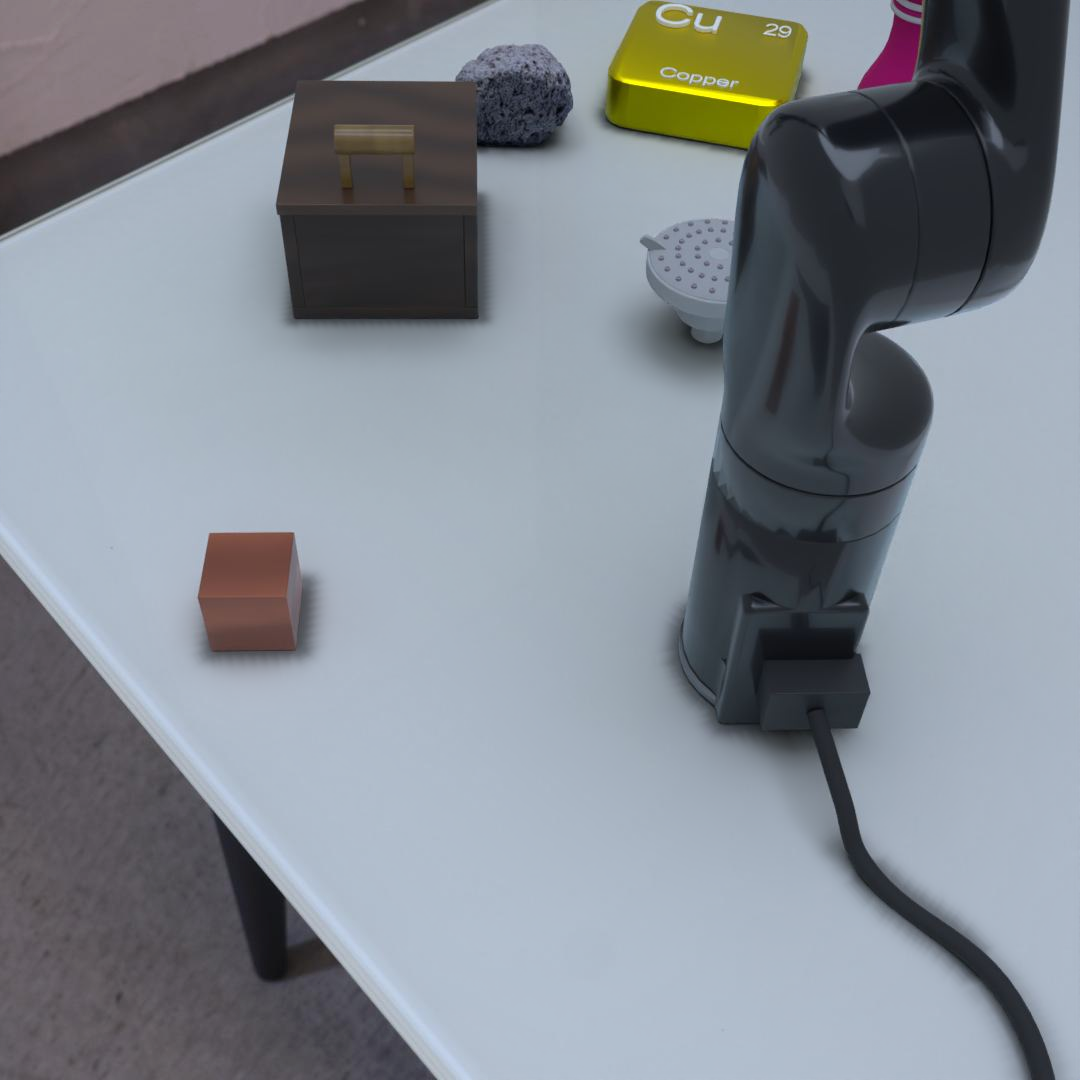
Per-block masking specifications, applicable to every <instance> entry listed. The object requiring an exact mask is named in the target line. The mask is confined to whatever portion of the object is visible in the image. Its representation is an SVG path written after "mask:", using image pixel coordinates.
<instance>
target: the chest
mask: <svg viewBox="0 0 1080 1080" xmlns="http://www.w3.org/2000/svg"><path fill="white" fill-rule="evenodd" d="M478 216H479V215H478V214H477V215H279V220H280V228H281V229H280V230H281V235H282V243H283V250H284V251H283V252H284V257H285V264H286V272H287V278H288V284H289V285H288V286H289V292H290V301H291V307H292V315H293V319H478V318H479V254H478V253H479V240H478V239H479V237H478V233H479V232H478V230H479V229H478V228H479V225H478V223H479V222H478Z"/></svg>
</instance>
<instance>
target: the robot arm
mask: <svg viewBox="0 0 1080 1080" xmlns="http://www.w3.org/2000/svg"><path fill="white" fill-rule="evenodd" d="M1070 10H1071V0H922V19H921V34H920V41H919V49H918V56H917V61H916V66H915V71H914V75H913V78H912V80H911V81H909V82H902V83H896V84H890V85H884V86H877V87H871V88H865V89H859V90H857V89H852V90H847V91H839V92H834V93H833V92H832V93H828V94H820V95H815V96H809V97H804V98H799V99H794V101H791V102H788V103H785V104H783V105H780V106H779V107H777V108H776V109H774V110H773V111H771V112H770V113H769V114H768V115H767V116H766V117H765V119H764V120H763V121H762V123H761V124H760V126H759V127H758V129H757V130H756V132H755V134H754V136H753V138H752V140H751V142H750V145H749V148H748V149H747V151H746V154H745V157H744V160H743V164H742V169H741V173H740V178H739V182H738V190H737V197H736V206H735V212H734V213H735V214H734V221H735V223H734V234H733V246H732V257H731V267H730V276H729V286H728V294H727V302H726V309H725V319H724V329H723V334H722V366H723V395H722V401H721V407H720V414H719V419H718V425H717V429H716V430H717V431H716V435H715V440H714V446H713V452H712V458H711V461H710V462H711V463H710V468H709V474H708V479H707V486H706V491H705V496H704V501H703V502H704V503H703V507H702V508H703V509H702V514H701V520H700V525H699V529H698V530H699V531H698V536H697V542H696V547H695V553H694V560H693V564H692V571H691V576H690V582H689V587H688V593H687V602H686V607H685V613H684V617H683V619H682V622H681V625H680V629H679V637H678V655H679V661H680V665H681V667H682V669H683V671H684V674H685V676H686V677H687V679H688V680H689V682H690V683H691V685H692V686H693V687H694V689H695V690H697V692H698V693H699V694H700V695H701V696H702V697H703V698H704V699H706V700H707V701H708V702H709V703H711V704H712V705H713V706H714V709H715V712H716V719H717V721H718V722H719V723H722V724H760V728H761V730H762V731H777V730H780V731H783V730H784V731H787V730H788V731H789V730H810V731H811V734H812V738H813V740H814V744H815V748H816V751H817V754H818V757H819V762H820V764H821V767H822V771H823V774H824V777H825V780H826V784H827V787H828V790H829V794H830V798H831V800H832V803H833V807H834V809H835V810H834V811H835V814H836V820H837V823H838V828H839V833H840V837H841V841H842V845H843V848H844V850H845V853H846V854H847V857H848V859H849V861H850V862H851V864H852V865H853V867H854V868H855V869H856V871H857V872H858V874H859V875H860V877H861V878H862V879H863V881H864V882H865V883H866V884H867V885H868V887H870V888H871V890H872V891H873V892H874V893H875V894H876V895H877V896H878V897H879V898H880V899H881V900H882V901H883V902H884V903H885V904H887V906H888V907H890V908H891V909H892V910H893V911H894V912H896V913H897V914H899V915H900V916H901V917H903V918H904V920H906V921H907V922H909V923H910V924H912V925H913V926H915V928H917V929H918V930H920V931H921V932H923V933H924V934H926V935H927V936H929V937H930V938H932V939H933V940H934V941H936V942H937V943H938V944H940V945H942V946H943V947H944V948H946V949H947V950H949V951H950V952H951V953H953V954H954V955H955V956H957V958H959V959H960V960H961V961H963V963H965V964H966V965H967V966H969V968H971V969H972V970H973V971H974V972H975V973H976V975H978V976H979V977H980V978H981V979H982V980H983V981H984V983H985V984H986V985H987V986H988V987H989V988H990V990H991V991H992V993H993V994H994V995H995V997H996V999H997V1000H998V1001H999V1003H1000V1004H1001V1006H1002V1007H1003V1009H1004V1011H1005V1012H1006V1014H1007V1017H1008V1018H1009V1019H1010V1021H1011V1023H1012V1025H1013V1028H1014V1030H1015V1032H1016V1034H1017V1036H1018V1039H1019V1041H1020V1044H1021V1046H1022V1048H1023V1051H1024V1054H1025V1056H1026V1060H1027V1063H1028V1067H1029V1070H1030V1074H1031V1078H1032V1080H1056V1075H1055V1072H1054V1069H1053V1065H1052V1060H1051V1058H1050V1055H1049V1052H1048V1049H1047V1045H1046V1043H1045V1041H1044V1038H1043V1036H1042V1034H1041V1032H1040V1031H1041V1030H1040V1029H1039V1026H1038V1025H1037V1023H1036V1021H1035V1019H1034V1016H1033V1014H1032V1012H1031V1010H1030V1009H1029V1007H1028V1006H1027V1004H1026V1002H1025V1000H1024V999H1023V997H1022V995H1021V994H1020V992H1019V991H1018V990H1017V988H1016V986H1015V985H1014V984H1013V982H1012V981H1011V980H1010V978H1009V976H1008V975H1007V974H1006V973H1005V972H1004V971H1003V970H1002V969H1001V968H1000V966H999V965H998V964H997V963H996V962H995V961H994V960H993V959H992V958H991V957H990V956H989V955H987V954H986V952H984V951H983V950H982V948H980V947H979V946H978V945H976V944H975V943H974V942H972V940H970V939H968V938H967V937H966V936H964V935H963V934H962V933H961V932H959V931H958V930H956V929H955V928H954V927H952V926H950V924H948V923H946V922H945V921H943V920H942V919H940V918H939V917H937V916H936V915H934V914H933V913H932V912H930V911H928V909H926V908H924V907H923V906H922V905H920V904H919V903H917V902H916V901H914V900H913V899H912V898H910V896H908V895H907V894H906V893H904V892H903V891H902V890H901V889H900V888H899V887H898V886H896V884H895V883H893V882H892V881H891V880H890V878H889V877H888V876H887V875H886V874H885V873H884V872H883V871H882V870H881V868H880V867H879V866H878V864H877V863H876V862H875V860H874V859H873V857H872V856H871V855H870V853H869V852H868V850H867V848H866V846H865V844H864V841H863V839H862V835H861V831H860V827H859V821H858V817H857V812H856V807H855V805H854V801H853V797H852V794H851V790H850V789H849V784H848V782H847V778H846V775H845V772H844V769H843V764H842V762H841V759H840V756H839V753H838V748H837V746H836V743H835V740H834V736H833V733H832V730H848V729H850V730H852V729H853V730H854V729H859V726H860V723H861V720H862V717H863V715H864V712H865V709H866V707H867V704H868V701H869V698H870V696H871V689H870V684H869V680H868V677H867V672H866V668H865V665H864V660H863V658H862V657H863V656H862V653H858V647H859V646H860V642H861V639H862V636H863V633H864V630H865V628H866V625H867V621H868V619H869V616H870V610H871V609H870V606H871V605H872V601H873V599H874V595H875V592H876V589H877V586H878V583H879V580H880V577H881V574H882V571H883V568H884V565H885V562H886V560H887V557H888V554H889V551H890V548H891V545H892V542H893V539H894V536H895V533H896V530H897V527H898V524H899V521H900V518H901V515H902V513H903V509H904V506H905V504H906V501H907V498H908V496H909V493H910V491H911V487H912V484H913V481H914V479H915V475H916V472H917V469H918V466H919V463H920V461H921V458H922V455H923V452H924V448H925V446H926V443H927V440H928V437H929V434H930V432H931V427H932V425H933V420H934V413H935V398H934V391H933V387H932V385H931V382H930V380H929V378H928V375H927V373H926V372H925V370H924V369H923V368H922V367H921V365H920V364H919V362H918V361H917V360H916V359H915V358H914V356H912V355H911V353H909V351H907V349H905V348H904V347H902V346H901V345H900V344H898V343H897V342H895V341H894V340H892V339H891V338H889V337H887V336H885V335H884V334H882V333H880V332H881V331H885V330H890V329H895V328H899V327H904V326H908V325H913V324H920V323H923V322H928V321H929V322H930V321H933V320H937V319H943V318H948V317H953V316H956V315H960V314H965V313H968V312H972V311H975V310H979V309H982V308H985V307H988V306H991V305H993V304H994V303H997V302H1000V301H1001V300H1003V299H1005V298H1006V297H1007V296H1009V294H1011V293H1012V292H1013V291H1015V290H1016V289H1017V288H1018V287H1019V286H1020V284H1021V283H1022V282H1023V280H1024V279H1025V278H1026V276H1027V275H1028V273H1029V271H1030V269H1031V268H1032V265H1033V264H1034V262H1035V260H1036V258H1037V256H1038V253H1039V249H1040V248H1041V247H1040V246H1041V243H1042V240H1043V238H1044V235H1045V232H1046V229H1047V224H1048V219H1049V216H1050V211H1051V206H1052V200H1053V196H1054V195H1053V194H1054V187H1055V182H1056V181H1055V180H1056V172H1057V163H1058V153H1059V143H1060V142H1059V141H1060V133H1061V122H1062V109H1063V99H1064V88H1065V87H1064V85H1065V74H1066V73H1065V72H1066V63H1067V62H1066V61H1067V48H1068V36H1069V23H1070V12H1071V11H1070Z"/></svg>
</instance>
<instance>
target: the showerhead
mask: <svg viewBox="0 0 1080 1080" xmlns="http://www.w3.org/2000/svg"><path fill="white" fill-rule="evenodd" d="M734 223H735V220H731V219H724V218H723V219H722V218H697V219H696V218H695V219H689V220H684V221H681V222H678V223H674V224H673V225H671V226H668V227H666V228H665V229H662V231H660V232H659V233H658V234H657V235H655V237H653V236H651V235H649V234H645V235H643V236H641V237H640V238H639V243H640V244H641V245H642V246H644V247H645V248H646V249H647V252H646V262H645V263H646V264H645V276H646V280H647V282H648V284H649V286H650V288H651V289H652V291H653V292H654V293H655V294H656V295H657V296H658V297H659V298H660V299H661V300H662V301H663V302H665V303H667V304H668V305H669V306H671V307H673V308H675V312H676V314H677V316H678V317H679V319H680V320H681V321H682V322H683V323H685V324H686V325H687V326H689V327H691V329H690V335H691V337H692V338H693V339H694V340H695V341H697V342H699V343H703V344H714V343H718V342H719V341H720V340H722V339H723V329H724V319H725V309H726V302H727V294H728V286H729V276H730V267H731V257H732V246H733V234H734Z"/></svg>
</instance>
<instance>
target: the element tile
mask: <svg viewBox="0 0 1080 1080" xmlns="http://www.w3.org/2000/svg"><path fill="white" fill-rule="evenodd" d="M808 41H809V33H808V31H807V29H806V28H805V27H804V25H803V24H802V23H799V22H796V21H791V20H786V19H781V18H780V19H779V18H773V17H767V16H761V15H755V14H754V15H753V14H748V13H741V12H735V11H728V10H722V9H717V8H709V7H702V6H696V5H691V4H683V3H678V2H670V1H665V0H649V1H646V2H645V3H644V4H641V6H639V7H638V8H637V10H636V12H635V14H634V16H633V18H632V19H631V22H630V24H629V26H628V28H627V30H626V32H625V34H624V36H623V38H622V40H621V42H620V44H619V46H618V48H617V50H616V52H615V54H614V56H613V58H612V60H611V62H610V65H609V67H608V69H607V81H606V82H607V83H606V94H605V95H606V96H605V109H604V112H605V115H606V119H607V120H608V121H609V122H610V123H611V124H613V125H616V126H618V127H621V128H624V129H629V130H635V131H640V132H646V133H653V134H658V135H664V136H670V137H675V138H680V139H688V140H693V141H698V142H704V143H710V144H716V145H720V146H728V147H733V148H739V149H744V150H748V148H749V145H750V142H751V140H752V138H753V136H754V134H755V132H756V130H757V129H758V127H759V126H760V124H761V123H762V121H763V120H764V119H765V117H766V116H767V115H768V114H769V113H770V112H771V111H773V110H774V109H776V108H777V107H779V106H780V105H783V104H785V103H788V102H791V101H794V100H795V98H796V93H797V90H798V87H799V83H800V80H801V76H802V71H803V66H804V61H805V55H806V51H807V46H808Z"/></svg>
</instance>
